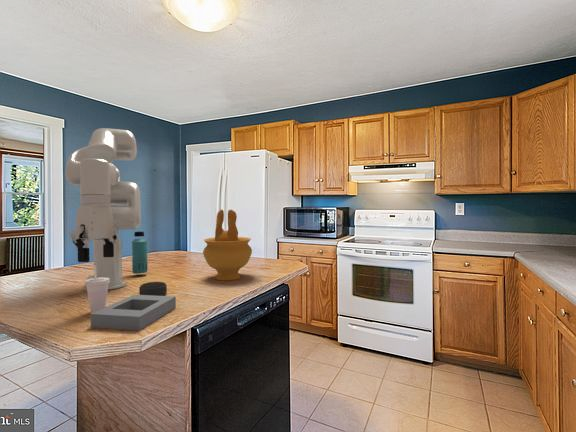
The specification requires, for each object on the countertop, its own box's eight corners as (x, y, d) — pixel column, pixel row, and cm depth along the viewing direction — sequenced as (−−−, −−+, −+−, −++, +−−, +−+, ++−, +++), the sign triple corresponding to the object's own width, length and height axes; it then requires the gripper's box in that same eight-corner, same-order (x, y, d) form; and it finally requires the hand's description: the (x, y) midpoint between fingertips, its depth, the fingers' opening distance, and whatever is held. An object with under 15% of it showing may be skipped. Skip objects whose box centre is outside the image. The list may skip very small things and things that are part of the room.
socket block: (90, 327, 82) (90, 313, 82) (134, 305, 100) (134, 294, 100) (139, 330, 80) (139, 316, 80) (175, 307, 98) (175, 296, 98)
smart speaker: (164, 290, 118) (164, 280, 118) (168, 296, 110) (168, 285, 110) (138, 294, 113) (137, 283, 113) (141, 300, 106) (140, 288, 106)
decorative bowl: (258, 273, 147) (258, 209, 146) (241, 284, 126) (241, 209, 125) (216, 271, 151) (216, 209, 150) (194, 281, 131) (193, 209, 130)
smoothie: (92, 308, 97) (91, 263, 96) (114, 308, 97) (113, 263, 97) (80, 315, 90) (79, 267, 90) (103, 315, 91) (103, 267, 91)
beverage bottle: (137, 277, 139) (136, 232, 138) (128, 275, 142) (128, 231, 141) (150, 274, 144) (150, 231, 143) (142, 273, 148) (141, 230, 147)
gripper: (105, 202, 102) (106, 255, 102) (59, 200, 85) (60, 264, 85) (126, 202, 101) (127, 255, 101) (83, 200, 84) (84, 264, 84)
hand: (96, 259), depth 93 cm, fingers open, 9 cm apart
